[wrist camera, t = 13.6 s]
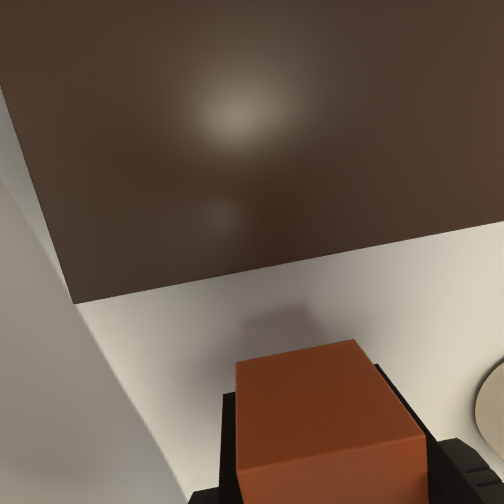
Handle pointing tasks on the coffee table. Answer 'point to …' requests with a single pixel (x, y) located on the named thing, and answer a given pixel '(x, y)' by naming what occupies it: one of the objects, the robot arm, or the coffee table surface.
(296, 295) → the coffee table surface
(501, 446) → the pill bottle
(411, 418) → the block
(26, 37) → the cabinet
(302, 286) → the coffee table surface
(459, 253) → the coffee table surface
